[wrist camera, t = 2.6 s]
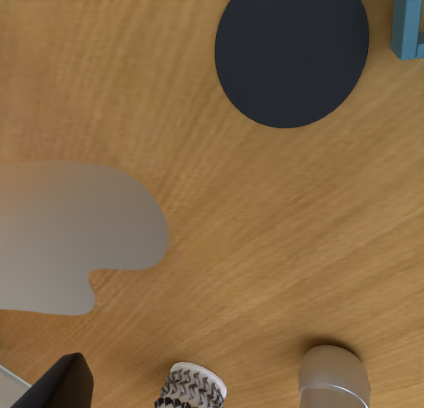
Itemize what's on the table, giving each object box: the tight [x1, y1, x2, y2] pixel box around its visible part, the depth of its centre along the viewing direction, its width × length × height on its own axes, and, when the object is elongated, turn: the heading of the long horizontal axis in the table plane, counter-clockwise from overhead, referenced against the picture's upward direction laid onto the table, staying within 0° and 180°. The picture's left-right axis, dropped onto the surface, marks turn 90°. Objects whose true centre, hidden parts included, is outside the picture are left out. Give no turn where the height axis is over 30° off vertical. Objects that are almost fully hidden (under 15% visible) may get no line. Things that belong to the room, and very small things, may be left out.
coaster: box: [215, 0, 369, 128], centre depth 19 cm, size 9×9×1 cm
